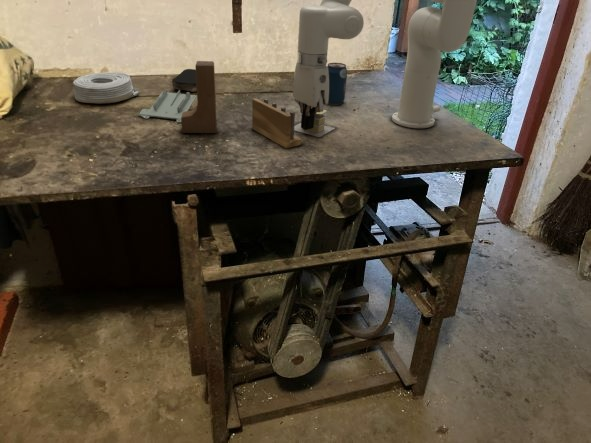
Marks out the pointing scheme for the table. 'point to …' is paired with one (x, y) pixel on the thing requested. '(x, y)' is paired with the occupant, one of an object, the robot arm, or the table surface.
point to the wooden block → (202, 102)
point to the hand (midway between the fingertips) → (307, 128)
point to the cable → (104, 88)
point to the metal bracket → (169, 106)
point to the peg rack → (274, 123)
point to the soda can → (337, 83)
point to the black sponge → (186, 80)
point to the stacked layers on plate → (316, 126)
